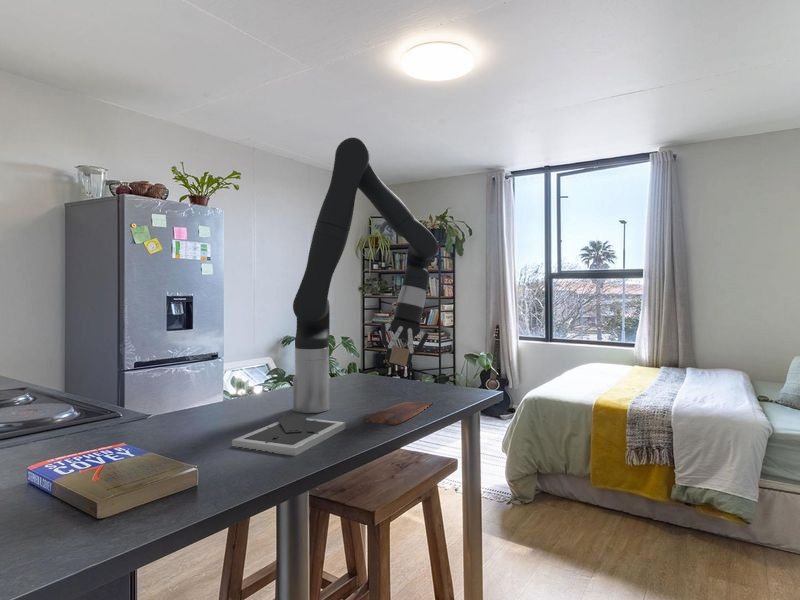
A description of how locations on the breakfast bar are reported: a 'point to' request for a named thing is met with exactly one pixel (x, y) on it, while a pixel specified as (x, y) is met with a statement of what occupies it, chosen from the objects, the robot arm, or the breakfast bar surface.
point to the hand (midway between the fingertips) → (397, 364)
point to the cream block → (399, 355)
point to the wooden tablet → (398, 413)
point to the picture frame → (290, 435)
